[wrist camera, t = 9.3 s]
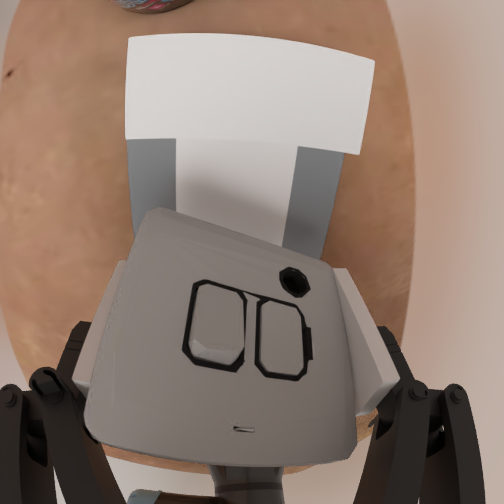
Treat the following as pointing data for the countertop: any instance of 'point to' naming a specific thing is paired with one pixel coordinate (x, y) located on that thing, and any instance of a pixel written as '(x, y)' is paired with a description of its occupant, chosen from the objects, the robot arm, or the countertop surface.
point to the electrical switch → (223, 352)
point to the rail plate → (243, 131)
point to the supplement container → (148, 5)
